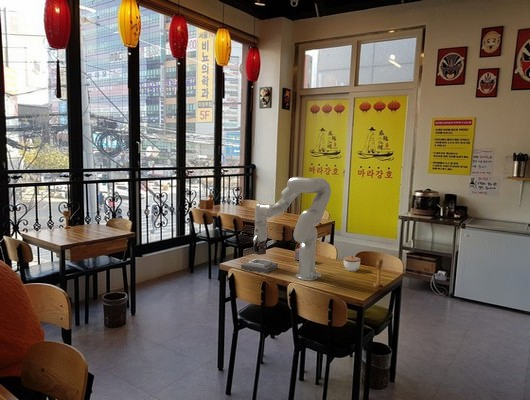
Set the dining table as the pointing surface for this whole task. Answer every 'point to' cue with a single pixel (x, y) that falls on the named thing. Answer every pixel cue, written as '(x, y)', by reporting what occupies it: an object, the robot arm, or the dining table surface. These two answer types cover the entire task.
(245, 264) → the grey flat block
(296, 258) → the food item
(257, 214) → the robot arm
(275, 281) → the dining table surface
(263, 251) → the box
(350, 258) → the lidded jar
